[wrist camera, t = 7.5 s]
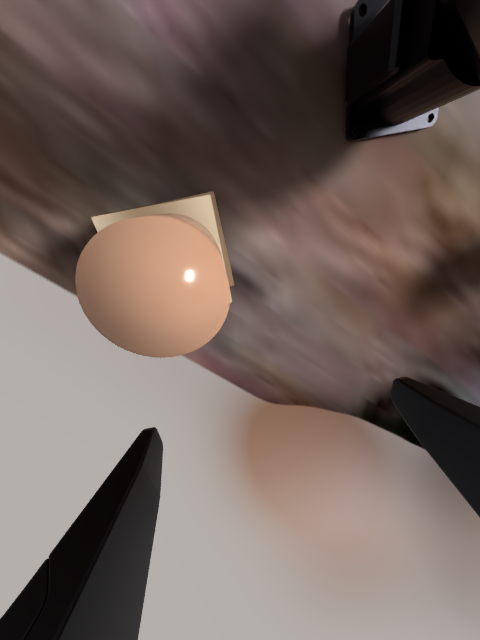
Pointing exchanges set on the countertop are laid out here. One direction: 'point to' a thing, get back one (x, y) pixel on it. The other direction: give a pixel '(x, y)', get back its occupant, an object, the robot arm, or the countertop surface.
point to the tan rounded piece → (154, 284)
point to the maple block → (189, 207)
